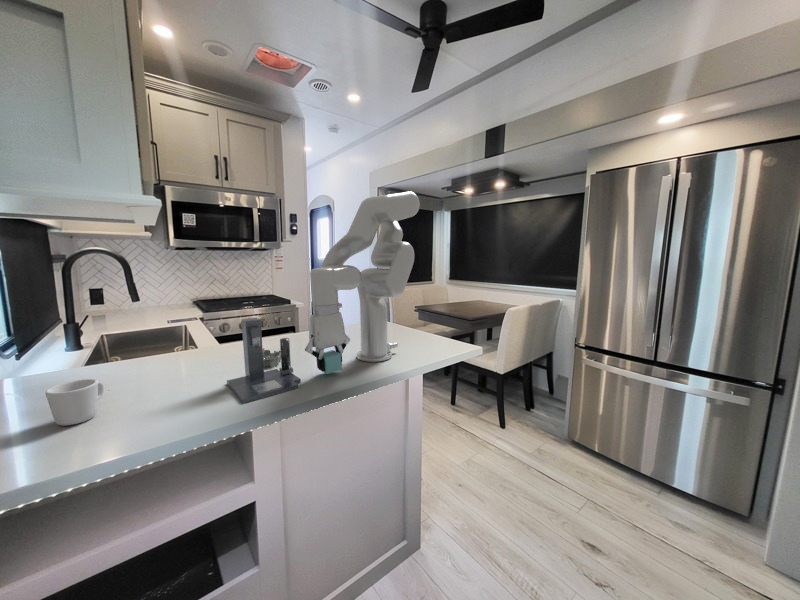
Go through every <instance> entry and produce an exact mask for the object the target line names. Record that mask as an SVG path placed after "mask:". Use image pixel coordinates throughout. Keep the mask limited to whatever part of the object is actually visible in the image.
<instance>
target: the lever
mask: <svg viewBox="0 0 800 600" xmlns="http://www.w3.org/2000/svg"><path fill="white" fill-rule="evenodd" d="M279 343H280V345H279V347H280V351H281V362H280V365H281V366H280V367H279V368H278V370H279V371H280V373H282V374H283V375H284V374H288V373H292V374H293V373H294V368H293V367H292V366H291V365H292V364H291V348H290V347H291V345H290V343H291V342H290V338H288V337H284V338H283V337H282V338H280V339H279Z"/></svg>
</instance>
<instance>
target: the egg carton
mask: <svg viewBox="0 0 800 600" xmlns="http://www.w3.org/2000/svg"><path fill="white" fill-rule="evenodd" d="M262 349H263V365H264V366H267V367H269V366H270V368H275V367H278V366H279V365H280V363H281V350H278V351H277V350H273V352H271V350H270V349H265V348H263V347H262ZM264 358H265V359H264ZM279 362H280V363H279ZM277 365H278V366H277ZM274 366H275V367H274Z"/></svg>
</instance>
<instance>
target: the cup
mask: <svg viewBox="0 0 800 600" xmlns="http://www.w3.org/2000/svg"><path fill="white" fill-rule="evenodd" d="M103 395H104V384H103V382H101V381H99V380H97V379H94V378H93V379H92V378H86V379H85V378H83V379H77V380H76V379H75V380H71V381H68V382H63V383H60V384H56V385H54V386H52V387H50V388H48V389H46V391H45V397H46V399H47V403H48V405H49V408H50V411H51V414H52V418H53V421H54V422H55V424H57V425H58V426H63V427H64V426H73V425H77V424H80V423H81V424H82V423H84V422H87V421H89V420H90V419H92V418H95V416H96V415H97V413H98V411H99V400H100V399H102V397H103Z"/></svg>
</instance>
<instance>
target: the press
mask: <svg viewBox="0 0 800 600" xmlns="http://www.w3.org/2000/svg"><path fill="white" fill-rule="evenodd" d="M241 329H242V331H241V333H242V343H243V344H242V345H243V346H242V347H243V359H244V372H245V373H244V374H245V375H244V376H240V377H237V378H232V379H227V380H226V385H227V386H228V387H229V388H230V389H231V391H232V392H233V393H234V395H235V396H236V397H237V398H238V399H239V401H240V402H241V403H242V404H246V403H250V402H253V401H256V400H261V399H264V398H267V397H271V396H274V395H278V394H282V393H285V392H288V391H291V390H296V389H299V384H301V382H302V380H301V378H299V377H298V376H297V375H295V374H294V373H293V372H292V373H288V374H284V375H283V374H282V373H280V370H279V369H277V368H276V369H275V368H274V369H271V370H266V371H265V369H264V368H265V367H264V365H263V335H262V321H261V319H260V318H258V317H250V318H242V319H241ZM296 383H297V384H296Z"/></svg>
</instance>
